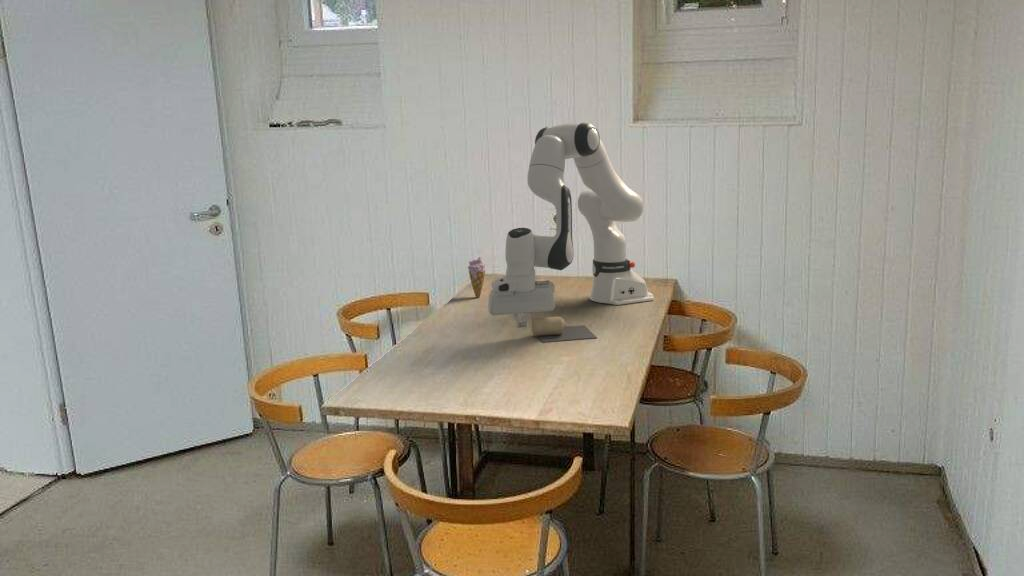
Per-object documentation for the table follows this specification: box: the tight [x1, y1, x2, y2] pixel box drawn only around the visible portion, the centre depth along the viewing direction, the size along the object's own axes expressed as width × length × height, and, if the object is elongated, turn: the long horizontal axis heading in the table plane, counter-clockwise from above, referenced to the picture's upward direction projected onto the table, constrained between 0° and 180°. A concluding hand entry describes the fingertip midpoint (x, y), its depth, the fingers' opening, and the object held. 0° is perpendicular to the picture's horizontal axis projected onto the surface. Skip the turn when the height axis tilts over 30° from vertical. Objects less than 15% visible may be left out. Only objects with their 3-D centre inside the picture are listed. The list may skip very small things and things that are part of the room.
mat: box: [536, 324, 598, 344], centre depth 280 cm, size 17×14×1 cm
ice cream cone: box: [467, 256, 486, 299], centre depth 326 cm, size 7×6×15 cm
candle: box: [531, 316, 567, 337], centre depth 278 cm, size 6×6×10 cm
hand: (522, 326), depth 277 cm, fingers closed
